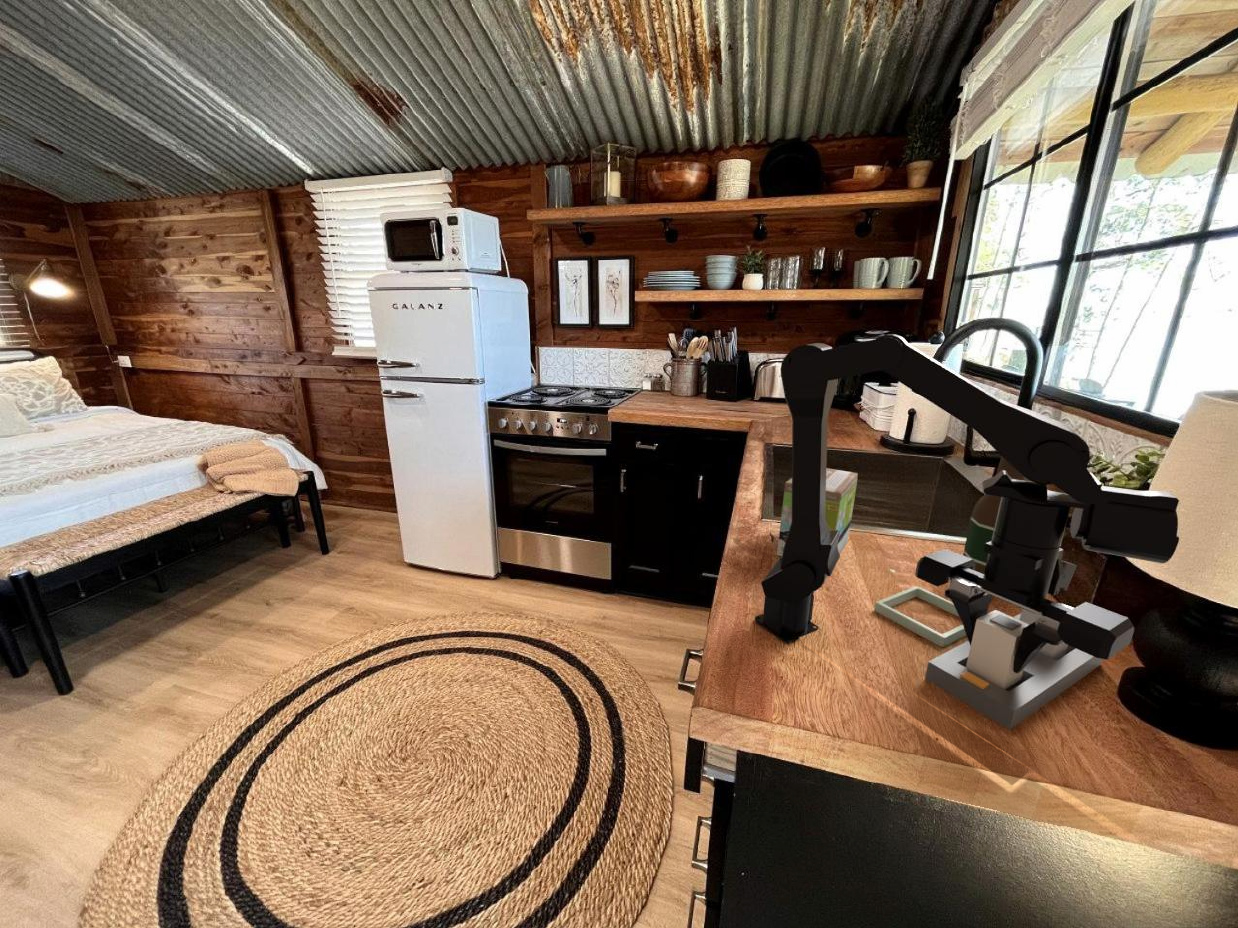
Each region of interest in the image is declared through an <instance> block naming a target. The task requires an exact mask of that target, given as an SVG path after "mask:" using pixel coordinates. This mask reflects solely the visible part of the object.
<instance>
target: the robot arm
mask: <svg viewBox="0 0 1238 928" xmlns="http://www.w3.org/2000/svg"><path fill="white" fill-rule="evenodd" d="M875 372H882V373H885V374H887V375H888V376H890V377H891V378H893V379H894V380H895V381H897V382H899V383H900V384H902V385H903V386H905V387H906V388H908V389H910V390H911V391H913V392H915V393H916V394H917V395H920V396H921V397H923V398H924V399H925V400H927V401H928V402H930V403H931V404H934V405H935V406H937V407H938V408H940V409H942V410H943V411H944V412H946V413H948V415H951V416H952V417H954V418H955V419H957V420H959V421H961V422H962V423H964V424H965V425H966V426H967V427H970V428H971V429H973V430H974V431H975V432H976V433H978V434H979V436H981V437H982V438H983V439H984V440H985V441H986V442H987V443H988V444H989V445H990V446H991V447H992V449H994V450H995V451H996V452H997V453H998V454H999V455H1000V457H1001V456H1002V457H1003V458H1004V459H1005V460H1006V461H1007V462H1009V463H1010V464H1011V465H1012V466H1013V467H1014V468H1015V469H1016V470H1017V471H1018V472H1019V473H1021V474H1022V475H1023V476H1024V477H1025V479H1027V480H1025V481H1023V480H1016V479H1013V478H1011V477H1010V476H1009V475H1008V474H1007V472H1006V471H1005V470H1002V471H1000V472H999V473H998V474H997V475H996V474H995V475H994V476H992V477H990V478H987V479H985V480H983V481H982V483H981V486H982V491H983V494H984V495H985V494H987V495H993V496H1000V497H1001V501H1000V506H999V510H998V514H997V519H996V523H995V528H994V532H993V536H992V541H990V542H988V543H985V548H984V552H986V553H989V554H988V558H987V563H986V567H985V572H984V574H982V573H979V572H977V571H974V570H975V566H976V564H975V562H974V560H973V559H971V558H968V557H966V556H963V554H960V553H958V552H955V551H952V550H950V549H947V548H943V549H940V550H938V551H935V552H932V553H930V554H927V555H924V556H922V557H920V558H919V560H918V561H917V564H916V567H915V568H916V569H915V573H914V575H915V577H916V578H917V579H920V580H922V581H924V582H926V583H929V584H930V585H933V586H935V587H937V588H938V587H940V586H943V585H946V584H948V583H949V586H948V589H946V590H945V591H944V597H946V598H948V599H950V601H951V602H953V604H954V606H955V609H956V611H957V613H958V615H959V619H960V621H961V623H962V624H961V625H963V626H964V629H965V632H966V638H967V641H969V643H970V646H971V642H972V638H973V634H974V629H975V625H976V620H977V619H978V618H980V617H982V616H984V615H986V614H988V613H989V612H988V610H989V607H990V605H991V602H992V601H993V599H994V598H997V599H999V600H1001V601H1004V602H1006V603H1008V604H1010V605H1013V606H1015V607H1018V608H1021V610H1022V609H1025V610H1027V611H1030V612H1032V613H1034V614H1036V618H1035V619H1037V620H1036V621H1035V622H1034V623H1032V624H1030V625H1028V626H1026V627H1024V628H1023V631H1022V634H1021V638H1020V641H1019V645H1018V648H1017V652H1016V655H1015V659H1014V665H1013V671H1014V672H1015V673H1019V672H1020V671H1022V670H1023V669H1024V668H1025V666H1026V665H1027V664H1028V663H1029V662H1030V661H1031V660H1032V659H1033V658H1034V657H1035V655H1036V654H1037V653H1038V652H1039V651H1040V650H1041V649H1042V648H1043V647H1044V646H1045V645H1046V644H1047V643H1048V644H1051V645H1059V644H1061V643H1063V642H1064V643H1065V644H1067V645H1069V646H1072V647H1074V648H1076V649H1078V650H1080V651H1083V652H1085V653H1087V654H1089V655H1092V656H1094V657H1096V658H1100V659H1102V660H1106V661H1107V660H1110V659H1111V658H1112V657H1114V656H1115V655H1116V654H1118V653H1119V652H1121V651H1122V650H1123V649H1125V648H1126V647H1127V646H1129V645H1130V644H1131V643H1132V642H1131V641H1132V638H1133V635H1134V632H1135V626H1134V624H1133V623H1132V621H1131V619H1130V618H1129V617H1128V616H1124V615H1121V614H1119V613H1116V612H1114V611H1111V610H1108V609H1105V608H1103V607H1101V606H1098V605H1094V604H1093V603H1090V602H1089V601H1088V602H1087V601H1084V602H1083V603H1081V604H1079V605H1077V606H1076V607H1072V606H1070V605H1066V604H1064V603H1063V602H1058V601H1052V600H1050V599H1047V598H1048V594H1049V595H1052V596H1055V595H1057V594H1059V593H1060V591H1061V589H1062V591H1067V590H1068V588H1069V584H1070V583H1071V581H1072V578H1073V576H1074V574H1075V571H1076V569H1077V567H1078V566H1077V564H1074V563H1072V562H1068V561H1066V560H1063V556H1064V548H1062V547H1061V546H1062V542H1063V537H1064V534H1065V530H1066V526H1067V523H1068V519H1069V516H1070V513H1071V508H1074V510H1073V513H1072V516H1071V521H1070V536H1071V538H1073V539H1074V538H1075V539H1081V545H1082V548H1083V549H1084V550H1086V551H1090V552H1096V553H1100V554H1101V553H1102V554H1106V555H1107V554H1108V555H1113V556H1119V557H1123V558H1129V559H1134V560H1140V561H1146V562H1152V563H1155V564H1166V563H1168V562H1169V561H1170V560H1171V558H1172V557H1173V556H1174V554H1175V552H1176V550H1177V547H1178V545H1179V543H1180V542H1179V541H1180V537H1179V535H1178V528H1179V517H1178V512H1177V510H1178V509H1177V508H1178V506H1179V502H1180V499H1178V498H1177V497H1176V496H1175V495H1174V494H1172V493H1171V492H1167V491H1159V490H1137V489H1136V490H1135V489H1129V488H1121V487H1120V488H1119V487H1114V486H1113V487H1112V486H1104V485H1103V484H1102V482H1101V481H1100V480H1099V479H1098V478H1097V477H1096V475H1094V474H1093V472H1090V471H1089V470H1088V466H1089V463H1090V460H1091V452H1090V446H1089V445H1088V443H1087V442H1086V440H1084V439H1083V438H1082V437H1081V436H1080V435H1079V434H1078V433H1077V432H1076V431H1075V430H1074V429H1072V428H1071V427H1070V426H1069V425H1068V424H1066V423H1063V422H1061V421H1059V420H1057V419H1053V418H1051V417H1049V416H1046V415H1045V414H1044V415H1043V414H1042V413H1039V412H1036V411H1034V410H1031V409H1028V408H1026V407H1022V406H1019V405H1016V404H1014V403H1011V402H1009V401H1006V400H1004V399H1001V398H999V397H997V396H996V395H994V394H992V393H991V392H989V391H987V390H985V389H984V388H983V387H981V386H979V385H978V384H976V383H974V382H972V381H971V380H969V379H968V378H966V377H964V376H963V375H961V374H959V373H957V372H956V371H954V370H953V369H951V368H950V367H947V366H946V365H945V364H942V363H941V362H939V361H938V360H936V359H935V358H933V357H931V356H930V355H928V354H927V353H924V352H923V351H921V350H920V349H918V348H917V347H914V346H913V345H911V344H910V343H909V342H908V341H907V340H906V339H905V338H904V337H903V336H901V335H898V334H896V333H895V334H894V333H892V334H889V333H888V334H884V335H880V336H877V338H876V337H875V339H869V340H865V341H861V342H856V343H855V342H854V343H850V344H848V345H847V344H846V345H842V346H836V347H832V346H830V345H828V344H825V343H822V342H821V343H820V342H816V343H809V344H808V343H807V344H804V345H799V346H797V347H795V348H793V349H791V350H790V351H788V353H787V354H786V355H785V357H783V359H782V361H781V365H780V377H781V382H782V389H783V394H784V399H785V402H786V405H787V406H788V410H789V413H790V416H791V420H792V429H791V431H792V437H791V439H792V440H791V442H792V443H791V445H792V447H791V450H792V451H791V453H792V454H791V478H792V522H791V526H790V529H789V533H788V536H787V539H786V542H785V546H784V550H783V555H782V557H781V556H780V557H779V558H778V559H777V561H776V562H775V564H774V565H773V566H772V567H771V569H770V570H769V571H768V573H767V574H766V575H765V577H764V579H763V580H762V581H761V586H762V590H763V593H764V603H763V612H762V614H759V615H755V617H754V621H755V622H756V623H757V624H758V625H760V626H761V627H763V628H764V629H765V630H766V631H768V632H769V633H770V634H772V635H774V636H775V637H777V638H778V639H779V640H781V641H782V642H784V643H785V644H790V643H793V642H796V641H798V640H800V639H801V637H804V636H807V635H808V634H811V633H814V632H815V631H816V632H817V631H818V630H819V629H820V627H819V626H818V625H816V624H815V623H813V622H812V621H811V620H812V618H813V611H814V610H813V609H814V603H815V601H814V600H815V595H814V593H815V592H816V591H818V590H819V589H821V588H822V587H823V585H824V584H825V582H826V580H827V578H828V577H831V576H832V574H833V572H834V569H835V567H836V566H837V564H838V562H839V559H840V558H841V553H840V554H839V552H838V546H837V545H838V539H839V535H840V531H839V530H836V531H830V530H829V528H828V525H827V522H826V518H825V503H826V468H827V460H828V454H827V453H828V420H829V418H828V417H829V413H830V409H831V407H832V403H833V399H834V396H835V393H836V389H837V385H838V380H840V379H845V378H849V377H854V376H855V377H856V376H860V375H864V374H869V373H875ZM1048 485H1049V486H1050V485H1053V486H1055V487H1057V488H1058V489H1059V490H1061V491H1062V492H1058V491H1053V490H1049V489H1048V487H1047V486H1048ZM949 581H950V582H949Z"/></svg>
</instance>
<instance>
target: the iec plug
mask: <svg viewBox="0 0 1238 928" xmlns="http://www.w3.org/2000/svg"><path fill="white" fill-rule="evenodd" d="M1013 617H1014V616H1011V615H1008V614H1006V613H1004V612H1002V611H999V610H997V609H995V610H992V611H990V612H987V614H986V615H984V616H982V617H980V618H978V619H977V620H976V625H975V629H974V634H973V638H972V642H971V647H970V651H969V656H968V660H967V664H966V668H967V669H969V670H971V671H973V672H974V673H976V674H978V675H980V676H982V677H983V678H985V679H987V680H989V681H991V682H992V683H994V684H996V685H998V686H1000V687H1001V688H1003V689H1007V688H1008V687H1010V686H1011V685H1013V684H1015V683H1016V682H1018V681H1019V680H1021V678H1022V674H1023V670H1024V669H1023V670H1022V671H1020V672H1019V673H1015V672H1014V671H1013V665H1014V659H1015V655H1016V652H1017V648H1018V645H1019V641H1020V638H1021V634H1022V631H1023V628H1024V627H1026V626H1028V625H1029V624H1026V623H1024V622H1022V621H1020V620H1017V619H1015V618H1013Z"/></svg>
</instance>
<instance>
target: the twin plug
mask: <svg viewBox="0 0 1238 928" xmlns="http://www.w3.org/2000/svg"><path fill="white" fill-rule="evenodd" d="M1020 613H1021V616H1020V621H1022V622H1024V623H1026V624H1029V625H1030V624H1032V623H1034V622H1035V621H1036V620H1037V619H1035V618H1036V614H1034V613H1032V612H1030V611H1027V610H1025V609H1022V608H1021V612H1020ZM1067 647H1068V645H1067V644H1065V643H1064V642H1063V643H1061V644H1059V645H1051V644H1048V643H1047V644H1046V645H1045V646H1044V647H1043V648H1042V649H1041V650H1040V651H1039V652H1040V653H1042V654H1044V655H1046V656H1048V657H1050V658H1053V659H1055V660H1059V659H1060V658H1062V657H1063V656H1065V654H1066V650H1067Z"/></svg>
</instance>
